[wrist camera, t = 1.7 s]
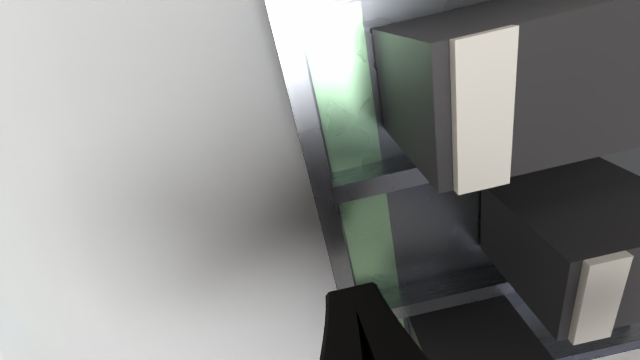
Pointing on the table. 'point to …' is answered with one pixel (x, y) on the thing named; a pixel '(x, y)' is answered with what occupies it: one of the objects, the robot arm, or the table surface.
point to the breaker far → (477, 333)
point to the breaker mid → (569, 245)
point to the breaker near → (510, 87)
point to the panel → (391, 174)
